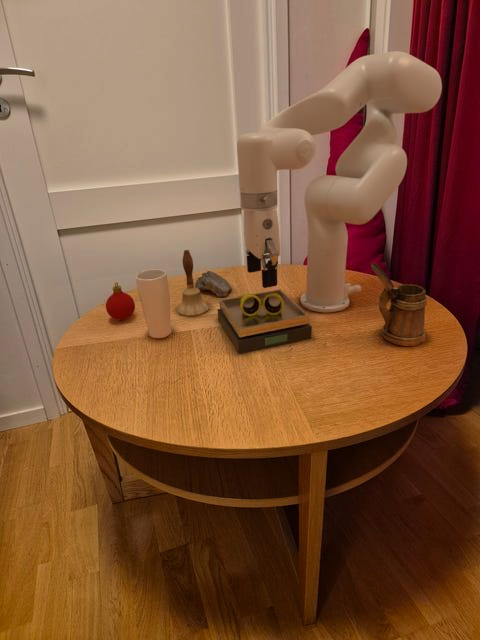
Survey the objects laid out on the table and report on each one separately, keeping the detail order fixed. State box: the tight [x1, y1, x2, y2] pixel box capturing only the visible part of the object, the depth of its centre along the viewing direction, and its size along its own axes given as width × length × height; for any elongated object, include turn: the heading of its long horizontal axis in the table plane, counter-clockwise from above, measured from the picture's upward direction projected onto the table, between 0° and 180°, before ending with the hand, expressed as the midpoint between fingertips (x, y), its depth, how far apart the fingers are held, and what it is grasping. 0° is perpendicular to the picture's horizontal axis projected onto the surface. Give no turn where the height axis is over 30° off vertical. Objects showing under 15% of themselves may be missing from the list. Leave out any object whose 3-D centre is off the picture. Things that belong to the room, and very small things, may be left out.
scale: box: [217, 308, 313, 355], centre depth 95 cm, size 17×17×4 cm
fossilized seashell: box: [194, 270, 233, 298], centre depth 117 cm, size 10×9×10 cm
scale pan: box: [218, 288, 310, 337], centre depth 94 cm, size 16×16×2 cm
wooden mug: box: [370, 262, 428, 347], centre depth 85 cm, size 9×14×18 cm, turn 99°
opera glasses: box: [240, 293, 284, 316], centre depth 93 cm, size 10×5×5 cm, turn 90°
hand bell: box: [177, 249, 210, 317], centre depth 103 cm, size 8×8×16 cm
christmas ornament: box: [105, 281, 136, 321], centre depth 102 cm, size 7×7×10 cm
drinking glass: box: [135, 268, 173, 339], centre depth 93 cm, size 7×7×15 cm
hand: (261, 278), depth 90 cm, fingers open, 9 cm apart
